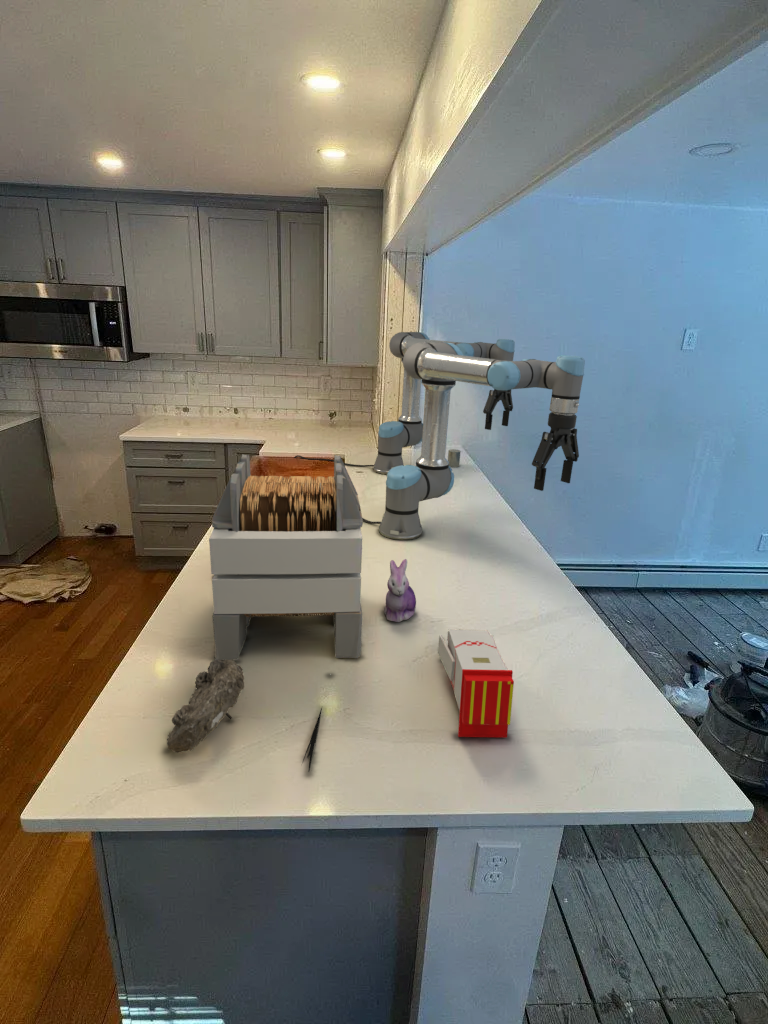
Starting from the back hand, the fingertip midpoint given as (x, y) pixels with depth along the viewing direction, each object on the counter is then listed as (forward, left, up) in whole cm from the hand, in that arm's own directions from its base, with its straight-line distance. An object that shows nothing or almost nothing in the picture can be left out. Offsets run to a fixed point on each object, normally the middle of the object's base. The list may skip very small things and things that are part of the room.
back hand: (496, 427), depth 246 cm
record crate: (+29, -136, -28) cm, 142 cm away
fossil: (+46, -169, -28) cm, 177 cm away
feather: (+61, -155, -28) cm, 169 cm away
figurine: (+45, -113, -28) cm, 125 cm away
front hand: (+58, -62, 0) cm, 85 cm away
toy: (+76, -127, -28) cm, 150 cm away
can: (-35, +20, -28) cm, 49 cm away
